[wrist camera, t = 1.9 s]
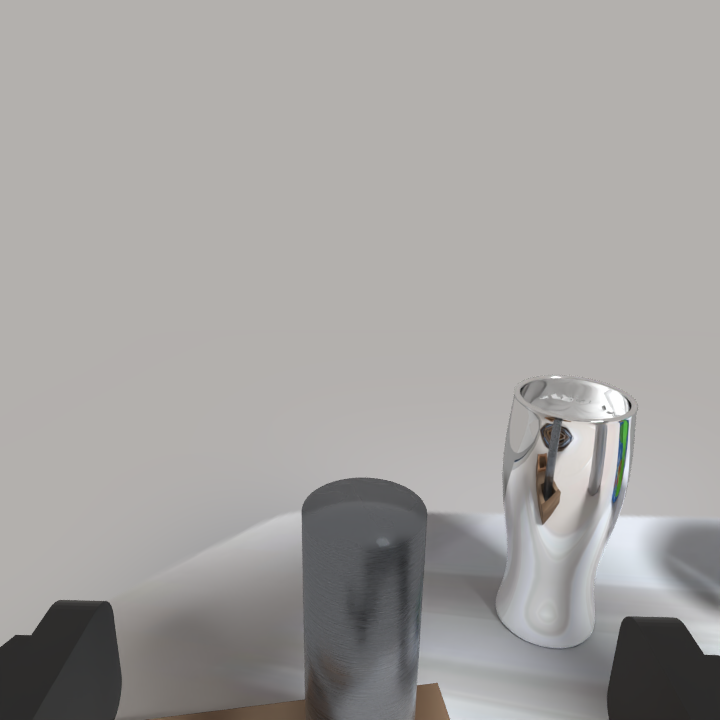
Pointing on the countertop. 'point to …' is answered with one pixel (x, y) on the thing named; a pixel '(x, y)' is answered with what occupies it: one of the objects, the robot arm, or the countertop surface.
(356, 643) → the metal peg
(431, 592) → the countertop surface
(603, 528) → the beer glass
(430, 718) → the wooden peg holder
